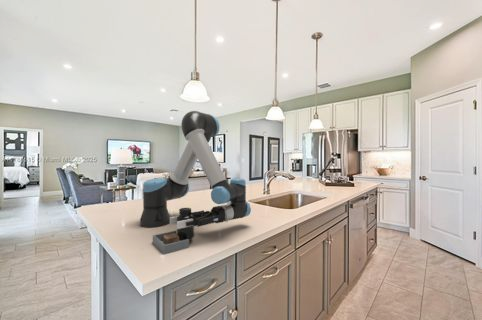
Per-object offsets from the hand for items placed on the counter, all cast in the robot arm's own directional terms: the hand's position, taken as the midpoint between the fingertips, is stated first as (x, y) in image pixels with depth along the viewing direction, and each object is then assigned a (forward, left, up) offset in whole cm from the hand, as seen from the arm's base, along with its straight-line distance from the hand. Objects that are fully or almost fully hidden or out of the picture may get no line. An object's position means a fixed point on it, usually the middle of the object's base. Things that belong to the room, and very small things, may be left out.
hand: (173, 223), depth 88 cm
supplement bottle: (+3, +4, -7) cm, 9 cm away
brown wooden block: (-1, 0, -9) cm, 9 cm away
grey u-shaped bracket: (-1, -1, -8) cm, 9 cm away
